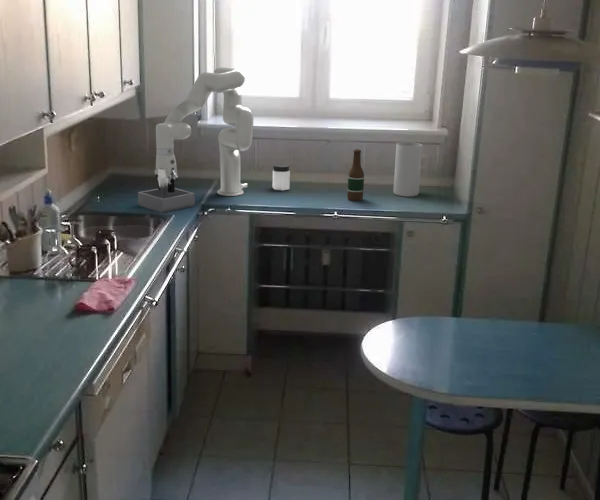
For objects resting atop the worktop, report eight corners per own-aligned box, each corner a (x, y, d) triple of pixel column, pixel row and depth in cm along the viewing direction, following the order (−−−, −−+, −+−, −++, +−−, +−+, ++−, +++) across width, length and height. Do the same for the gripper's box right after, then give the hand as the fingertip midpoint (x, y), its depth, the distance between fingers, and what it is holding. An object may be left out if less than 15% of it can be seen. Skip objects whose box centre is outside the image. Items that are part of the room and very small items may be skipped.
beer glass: (171, 203, 339) (170, 170, 335) (156, 201, 341) (155, 169, 336) (176, 199, 346) (175, 167, 341) (162, 198, 347) (161, 166, 342)
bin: (170, 199, 356) (169, 186, 354) (194, 206, 344) (194, 193, 343) (138, 205, 343) (137, 192, 341) (162, 212, 332) (162, 199, 330)
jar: (271, 186, 386) (271, 163, 382) (286, 186, 387) (287, 163, 384) (274, 190, 377) (275, 167, 374) (290, 190, 379) (291, 166, 376)
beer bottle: (366, 200, 364) (368, 150, 357) (352, 201, 360) (355, 151, 353) (356, 196, 370) (359, 147, 363) (343, 198, 366) (345, 149, 359)
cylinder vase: (423, 195, 376) (427, 145, 368) (402, 197, 370) (405, 147, 363) (409, 190, 386) (412, 141, 379) (388, 192, 381) (391, 142, 373)
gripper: (184, 153, 333) (185, 193, 339) (160, 147, 345) (161, 186, 350) (170, 155, 328) (171, 195, 334) (146, 149, 339) (148, 188, 345)
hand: (166, 190), depth 342 cm, fingers closed on beer glass, 6 cm apart
